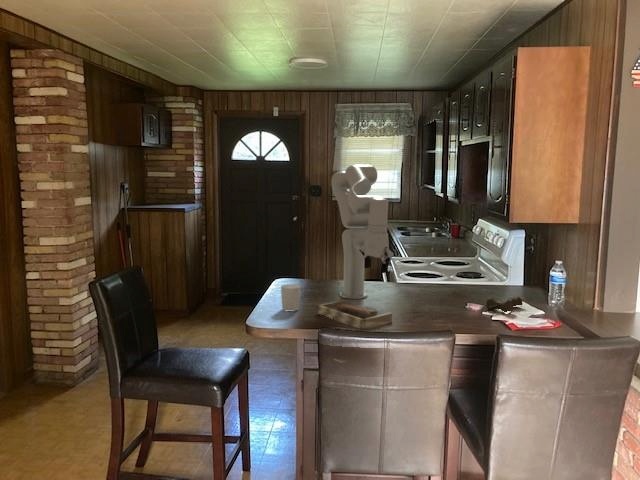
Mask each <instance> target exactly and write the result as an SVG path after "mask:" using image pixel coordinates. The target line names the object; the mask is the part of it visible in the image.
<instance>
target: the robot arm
mask: <svg viewBox="0 0 640 480" xmlns="http://www.w3.org/2000/svg"><path fill="white" fill-rule="evenodd" d="M377 180H378V171H377V168H376V167H375V166H374V165H372V164H352V165H349V166H347V168H346V169H345V171H337V172H335V173H334V174H333V175H332V176H331V189H332V193H333V195H334V197H335V199H336V201H337V204H338V207H339V208H338V209H339V214H340V220H341V223H342V226H343V227H345V228H346V229H345V230H344V231H343V232H342V234H341V242H342V247H343V281H342V283H341V285H339V286H338V289H340V290H341V292H340V293H339V296H340V297H341V298H344V299H347V298H348V299H349V300H362V299H365V298H367V297H368V293H367V292H365V269H370V268H371V267H372V258H371V257H373V258H376V259H380V260H381V262H382V263H381V268H380V271H381V274H385V273H388V272H389V264H390V261H392V260H393V256H394V252H393V251H391V249H390V248H389V247H390V243H389V241H390V240H389V234H388V219H389V218H388V215H389V200H388V199H387V198H385V197H383V196H382V195H367V194H369V192H370V191H371V189H372V186H373V185H375V183H376V182H377ZM360 250H361V251H360Z"/></svg>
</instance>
